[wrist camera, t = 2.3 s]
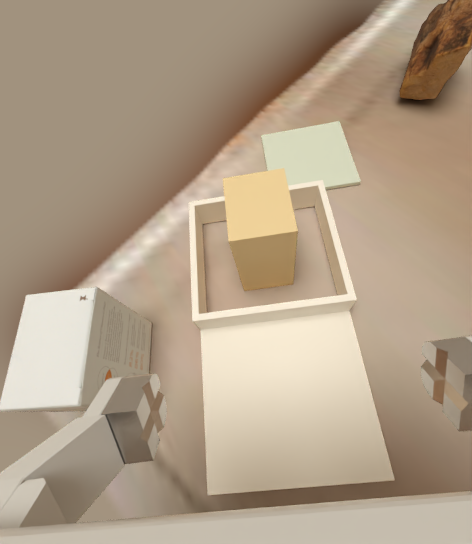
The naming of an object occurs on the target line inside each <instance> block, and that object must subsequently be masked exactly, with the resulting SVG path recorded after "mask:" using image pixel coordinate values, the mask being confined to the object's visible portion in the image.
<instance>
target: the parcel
mask: <svg viewBox="0 0 472 544" xmlns="http://www.w3.org/2000/svg"><path fill="white" fill-rule="evenodd" d="M223 187H224V197H225V208H226V218H227V229H228V239H229V244H230V247H231V250H232V254H233V257H234V260H235V263H236V266H237V269H238V273H239V276H240V279H241V282H242V285H243V289H244V291H248V290H255V289H262V288H270V287H277V286H284V285H292V284H293V279H294V268H295V257H296V245H297V234H298V230H297V225H296V221H295V216H294V211H293V207H292V202H291V197H290V193H289V188H288V183H287V179H286V174H285V169H284V168H281V169H275V170H270V171H264V172H258V173H252V174H246V175H240V176H235V177H229V178H223Z"/></svg>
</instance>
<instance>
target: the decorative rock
mask: <svg viewBox="0 0 472 544" xmlns="http://www.w3.org/2000/svg"><path fill="white" fill-rule="evenodd" d="M471 49H472V0H448V1H447V2H446V3H444V4H439V5H437V6H436V7H435V8H434V9H433V10H432V12H431V13H430V14H429V16H428V18H427V19H426V21H425V22H424V23H423V24H422V26H421V29H420V31H419V34H418V36H417V38H416V40H415V42H414V45H413V49H412V54H411V58H410V61H409V64H408V67H407V70H406V73H405V76H404V80H403V83H402V85H401V88H400V97H401V98H408V99H414V100H416V99H418V100H423V99H435V98H436V97H437V96H438V94H439V93H440V91H441V89H442V87H443V86H444V84H445V83H446V81H447V80H448V79H449V78H450V77H451V76H452V75H453V74H454V73H455V72H456V71H457V70H458V68H459V67H460V65H461V64H462V62H463V60H464V58H465V56H466V55H467V54H468V52H469V51H470V50H471Z"/></svg>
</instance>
